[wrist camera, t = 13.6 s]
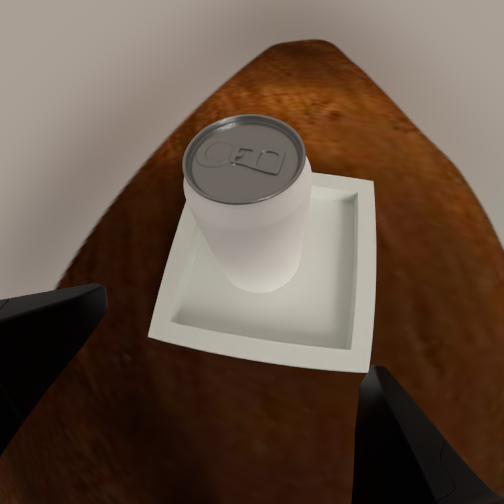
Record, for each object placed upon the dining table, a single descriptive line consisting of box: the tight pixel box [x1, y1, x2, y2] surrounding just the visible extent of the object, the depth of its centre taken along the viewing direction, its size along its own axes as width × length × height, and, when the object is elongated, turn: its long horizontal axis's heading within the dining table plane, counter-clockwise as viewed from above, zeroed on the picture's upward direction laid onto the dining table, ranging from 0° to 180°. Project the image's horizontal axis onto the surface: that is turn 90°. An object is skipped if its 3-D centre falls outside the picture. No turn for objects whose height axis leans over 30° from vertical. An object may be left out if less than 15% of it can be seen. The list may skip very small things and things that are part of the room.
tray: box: [148, 173, 376, 373], centre depth 23 cm, size 16×16×2 cm
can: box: [183, 114, 312, 293], centre depth 18 cm, size 6×6×12 cm
